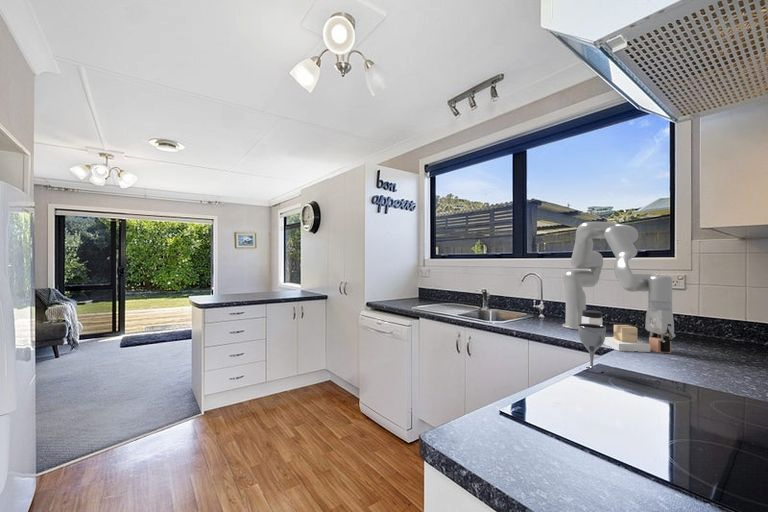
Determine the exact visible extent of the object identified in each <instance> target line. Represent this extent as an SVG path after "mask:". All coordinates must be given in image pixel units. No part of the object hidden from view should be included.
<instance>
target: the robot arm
mask: <svg viewBox="0 0 768 512" xmlns="http://www.w3.org/2000/svg"><path fill="white" fill-rule="evenodd" d="M593 239H605V241H606V242H607V244H608V246H609V248H610V249H611V251H612V253H613V255H614V257H615V262H614V270H613V272H614V274H615V277H616V279H617V281H618V283H619V284H620V286H621V287H622V288H623V289H624V290H625V291H627V292H631V293H632V292H634V293H635V292H644V293H645V292H648V295H647V296H648V299H647V300H648V302H647V303H648V304H647V310H646V313H645V324H644V325H645V330H646V331H647V333H648V335H649V337H654V338H661V339H662V342H661V352H670V342H671V343H672V340H673V339H675V337H676V334H675V322H674V314H673V278H672V277H671V276H668V275H654V274H648V273H643V274H642V273H633V271H632V270H631V268H630V266H629V261H630V260H632V259H633V258H634V257H636V256H637V254H638V249H637V248H636V246H635V245H634V243H635V242H637V240H638V239H639V231H638V230H637V228H635V227H633V226H632V225H627V224H623V223H622V224H621V223H619V222H613V221H586V222H582V223H580V224H579V225H578V226H577V228H576V231H575V242H574V246H573V251H572V255H571V257H570V258H571V259H570V263H571V264H570V265H571V266H572V267H573V268H576V269H572V270H571V269H570V270H568V271H566V272H565V273H564V275H563V283H564V290H565V319H564V321H565V323H562V328H565V329H570V330H578V324H582V311H583V310H587V307H586V306H587V300H586V299H587V298H586V297H587V296H586V292H585V290H584V289H583V288H593V287H595V286H596V285H598V283H599V280H600V277H601V273H602V269H603V265H604V258H603V257H604V256H603V255H602V254H601V253H600V252H599V251H596V250H593V248H594V241H593ZM649 337H648V338H649Z"/></svg>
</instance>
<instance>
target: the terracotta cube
mask: <svg viewBox="0 0 768 512" xmlns="http://www.w3.org/2000/svg"><path fill="white" fill-rule="evenodd" d="M648 339H649V340H648V344H650V351H651V352H655V353H657V352H659V353H658V354H672V341H671V342H670V352H661V342H662V339H661V337H658V338H654V337H648ZM660 352H661V353H660Z"/></svg>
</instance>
